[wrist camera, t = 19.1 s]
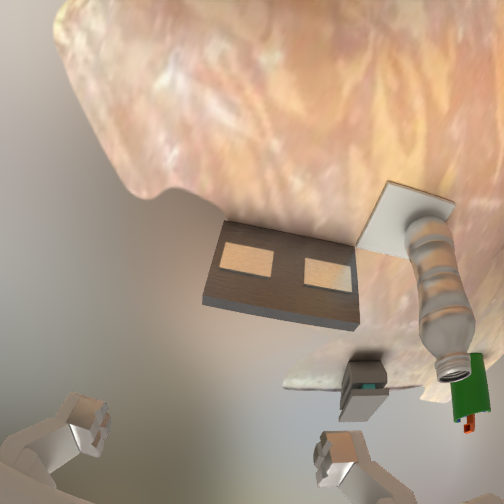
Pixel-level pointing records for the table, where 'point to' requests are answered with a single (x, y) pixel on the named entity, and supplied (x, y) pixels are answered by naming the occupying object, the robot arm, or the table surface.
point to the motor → (471, 394)
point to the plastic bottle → (440, 298)
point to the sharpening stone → (362, 390)
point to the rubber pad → (399, 218)
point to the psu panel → (284, 277)
